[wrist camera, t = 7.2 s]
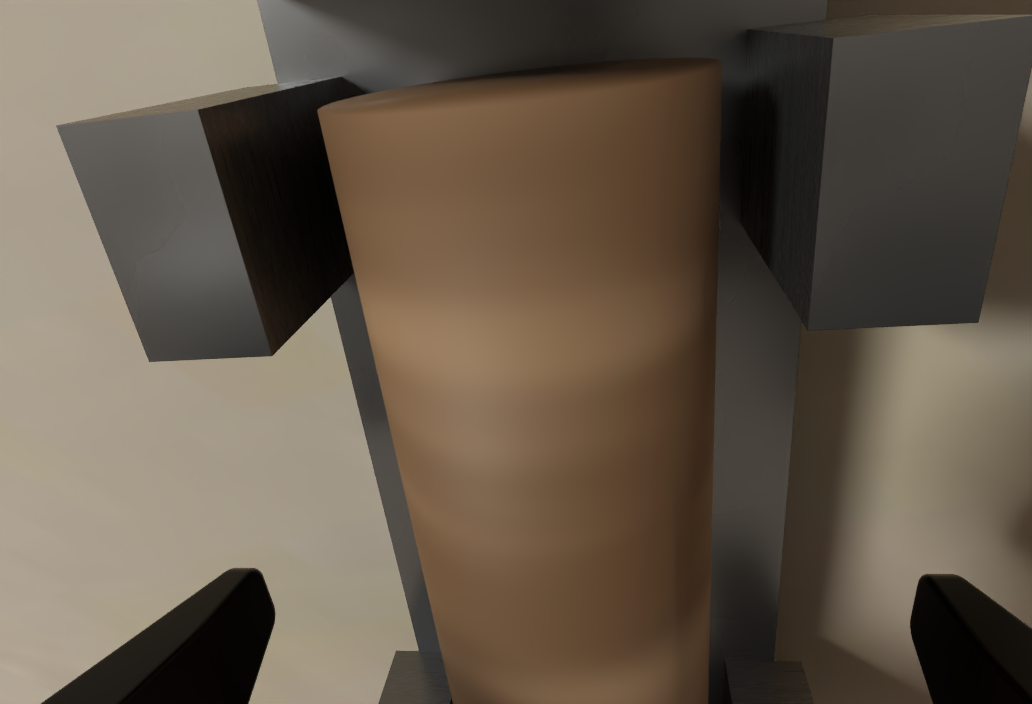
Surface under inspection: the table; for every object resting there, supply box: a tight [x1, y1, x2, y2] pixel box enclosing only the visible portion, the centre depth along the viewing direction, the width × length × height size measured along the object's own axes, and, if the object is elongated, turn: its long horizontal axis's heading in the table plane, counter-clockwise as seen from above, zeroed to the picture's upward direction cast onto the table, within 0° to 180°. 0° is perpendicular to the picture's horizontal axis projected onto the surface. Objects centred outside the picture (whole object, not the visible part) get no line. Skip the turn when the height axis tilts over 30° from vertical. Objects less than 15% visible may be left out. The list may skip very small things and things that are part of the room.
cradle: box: [56, 0, 1032, 704], centre depth 10 cm, size 8×18×4 cm, turn 6°
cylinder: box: [317, 57, 722, 704], centre depth 10 cm, size 13×4×4 cm, turn 6°
